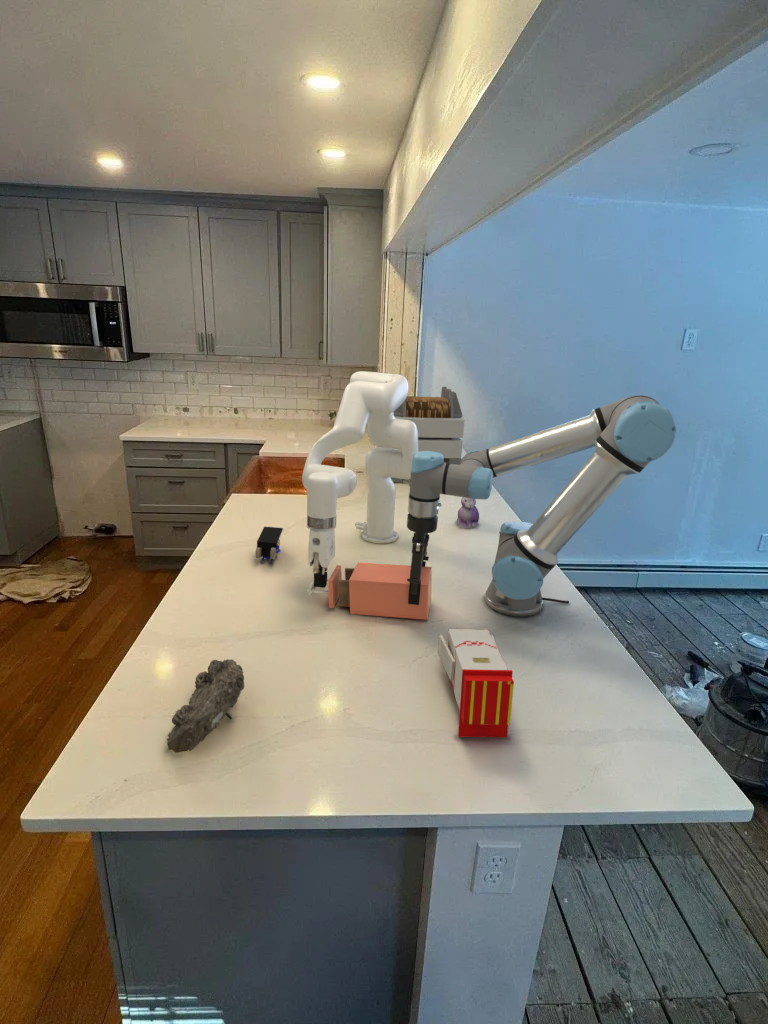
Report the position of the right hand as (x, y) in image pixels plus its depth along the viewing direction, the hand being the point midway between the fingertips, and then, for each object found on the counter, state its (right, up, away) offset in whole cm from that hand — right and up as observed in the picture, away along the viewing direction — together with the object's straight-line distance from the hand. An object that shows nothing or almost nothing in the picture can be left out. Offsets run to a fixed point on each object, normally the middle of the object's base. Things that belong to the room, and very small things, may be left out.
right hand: (416, 593), depth 148 cm
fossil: (-41, -18, -39) cm, 60 cm away
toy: (+10, -17, -29) cm, 35 cm away
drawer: (-16, -3, +4) cm, 16 cm away
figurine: (+23, +16, +64) cm, 70 cm away
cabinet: (-6, -4, +3) cm, 8 cm away
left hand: (-25, +1, +3) cm, 26 cm away
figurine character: (-44, +7, +30) cm, 54 cm away
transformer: (+9, +40, +127) cm, 134 cm away
